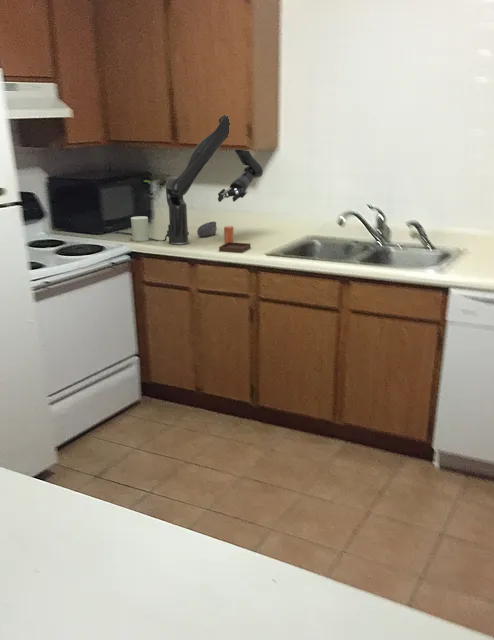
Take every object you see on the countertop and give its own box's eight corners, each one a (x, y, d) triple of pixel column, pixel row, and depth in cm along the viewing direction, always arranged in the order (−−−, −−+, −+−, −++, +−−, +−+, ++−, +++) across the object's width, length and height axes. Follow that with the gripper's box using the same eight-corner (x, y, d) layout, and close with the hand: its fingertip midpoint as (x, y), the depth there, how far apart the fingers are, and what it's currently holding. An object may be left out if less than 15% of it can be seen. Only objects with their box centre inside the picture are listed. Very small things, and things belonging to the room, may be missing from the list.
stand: (219, 251, 330) (219, 246, 329) (228, 246, 340) (228, 242, 339) (241, 253, 326) (241, 248, 325) (250, 247, 336) (250, 243, 335)
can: (134, 241, 354) (132, 218, 349) (130, 238, 362) (129, 216, 357) (151, 240, 356) (149, 217, 352) (147, 237, 364) (146, 214, 360)
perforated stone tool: (201, 238, 359) (200, 225, 356) (194, 237, 362) (193, 224, 359) (219, 234, 369) (219, 221, 367) (212, 233, 373) (212, 220, 370)
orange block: (223, 245, 343) (222, 227, 340) (226, 243, 347) (226, 225, 344) (231, 245, 342) (231, 227, 338) (235, 243, 346) (234, 226, 342)
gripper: (226, 179, 350) (212, 193, 340) (250, 178, 344) (236, 192, 333) (230, 192, 355) (216, 207, 345) (253, 191, 348) (240, 206, 338)
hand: (226, 200), depth 339 cm, fingers open, 8 cm apart
